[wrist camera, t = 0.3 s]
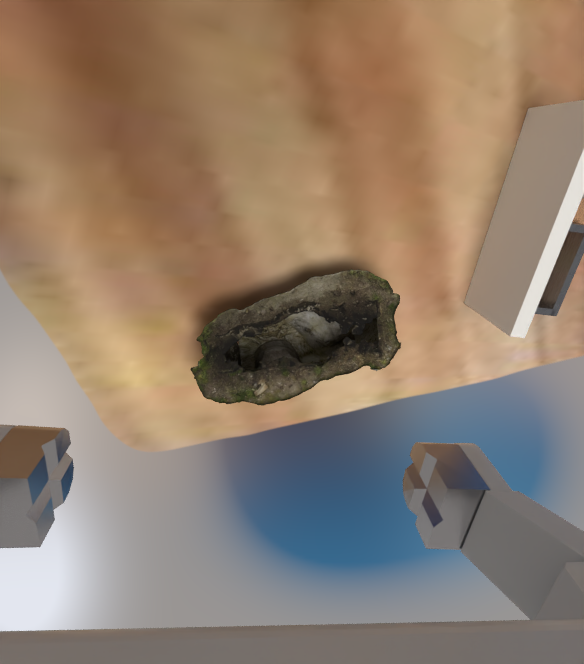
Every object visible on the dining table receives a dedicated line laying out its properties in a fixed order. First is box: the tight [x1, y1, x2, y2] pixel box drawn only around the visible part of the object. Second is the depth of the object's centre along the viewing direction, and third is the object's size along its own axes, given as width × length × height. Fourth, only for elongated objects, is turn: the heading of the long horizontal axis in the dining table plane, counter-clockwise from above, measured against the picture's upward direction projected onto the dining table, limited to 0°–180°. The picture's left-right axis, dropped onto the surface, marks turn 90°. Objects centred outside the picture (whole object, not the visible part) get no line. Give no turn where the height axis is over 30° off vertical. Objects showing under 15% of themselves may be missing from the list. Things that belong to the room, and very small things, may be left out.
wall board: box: [464, 100, 584, 338], centre depth 51 cm, size 26×2×12 cm, turn 172°
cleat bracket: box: [535, 222, 584, 316], centre depth 58 cm, size 13×10×3 cm
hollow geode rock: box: [190, 270, 401, 405], centre depth 56 cm, size 28×13×15 cm
